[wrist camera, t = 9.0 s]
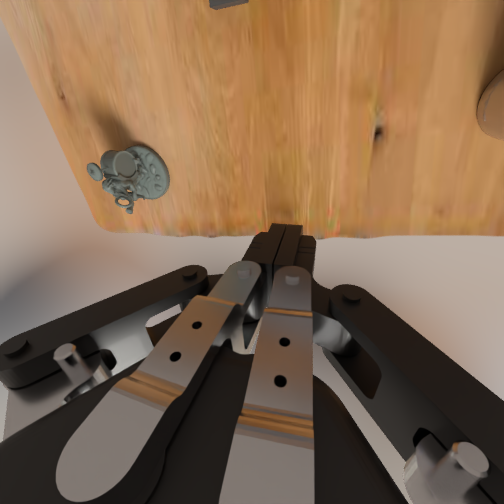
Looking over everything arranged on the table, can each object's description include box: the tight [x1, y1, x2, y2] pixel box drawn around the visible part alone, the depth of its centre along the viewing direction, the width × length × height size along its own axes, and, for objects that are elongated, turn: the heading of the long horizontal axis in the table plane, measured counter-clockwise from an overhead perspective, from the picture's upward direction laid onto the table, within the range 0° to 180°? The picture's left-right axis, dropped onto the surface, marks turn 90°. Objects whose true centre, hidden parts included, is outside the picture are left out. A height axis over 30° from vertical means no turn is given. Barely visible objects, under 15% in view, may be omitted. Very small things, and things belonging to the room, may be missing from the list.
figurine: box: [87, 145, 170, 214], centre depth 46 cm, size 11×11×12 cm
